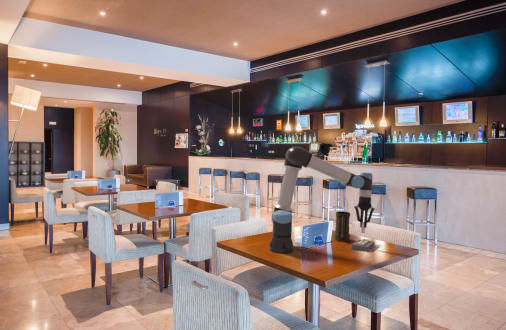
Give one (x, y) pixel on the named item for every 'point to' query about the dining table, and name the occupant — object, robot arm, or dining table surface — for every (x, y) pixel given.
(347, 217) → the beer stein
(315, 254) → the dining table surface
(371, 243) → the grey dice tray
